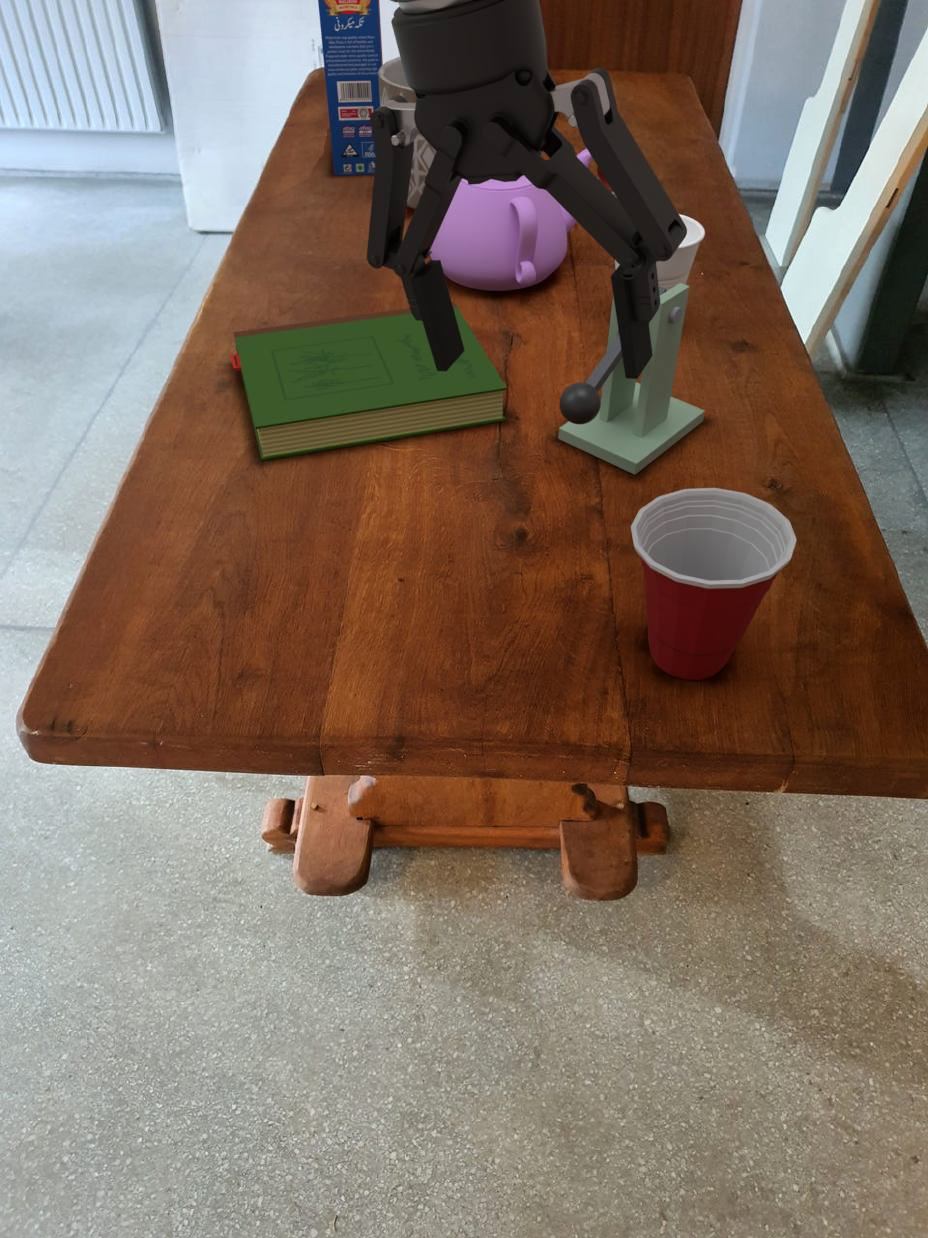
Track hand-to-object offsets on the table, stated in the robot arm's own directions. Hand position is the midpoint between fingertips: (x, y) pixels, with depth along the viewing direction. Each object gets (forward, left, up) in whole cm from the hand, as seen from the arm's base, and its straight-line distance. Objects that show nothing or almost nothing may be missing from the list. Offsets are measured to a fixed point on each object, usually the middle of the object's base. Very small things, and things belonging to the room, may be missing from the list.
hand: (540, 364), depth 61 cm
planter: (+47, -70, -21) cm, 86 cm away
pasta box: (+71, -82, -21) cm, 111 cm away
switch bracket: (+2, -27, -21) cm, 34 cm away
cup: (+9, -48, -21) cm, 53 cm away
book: (+29, -20, -21) cm, 41 cm away
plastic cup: (-13, -1, -21) cm, 25 cm away
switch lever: (+3, -23, -12) cm, 26 cm away
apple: (+28, -84, -21) cm, 91 cm away
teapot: (+29, -54, -21) cm, 64 cm away
